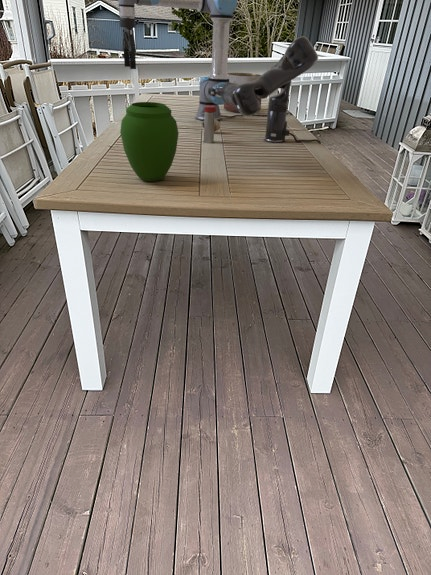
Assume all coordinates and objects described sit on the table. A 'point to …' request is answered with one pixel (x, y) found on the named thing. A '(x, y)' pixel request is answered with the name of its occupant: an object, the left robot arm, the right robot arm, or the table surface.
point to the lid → (209, 108)
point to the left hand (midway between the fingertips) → (130, 67)
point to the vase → (149, 139)
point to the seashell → (215, 125)
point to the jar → (209, 127)
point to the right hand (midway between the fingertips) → (222, 90)
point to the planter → (240, 79)
